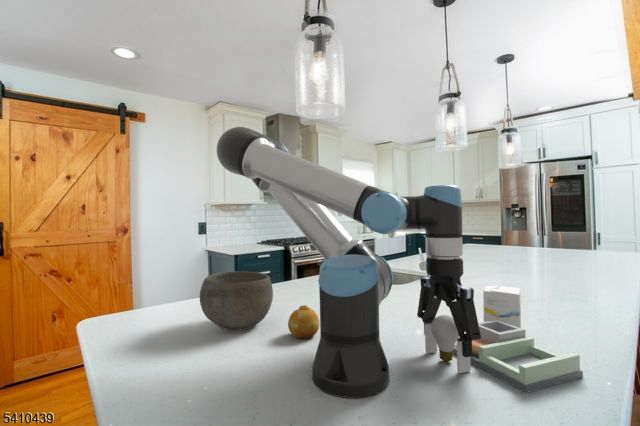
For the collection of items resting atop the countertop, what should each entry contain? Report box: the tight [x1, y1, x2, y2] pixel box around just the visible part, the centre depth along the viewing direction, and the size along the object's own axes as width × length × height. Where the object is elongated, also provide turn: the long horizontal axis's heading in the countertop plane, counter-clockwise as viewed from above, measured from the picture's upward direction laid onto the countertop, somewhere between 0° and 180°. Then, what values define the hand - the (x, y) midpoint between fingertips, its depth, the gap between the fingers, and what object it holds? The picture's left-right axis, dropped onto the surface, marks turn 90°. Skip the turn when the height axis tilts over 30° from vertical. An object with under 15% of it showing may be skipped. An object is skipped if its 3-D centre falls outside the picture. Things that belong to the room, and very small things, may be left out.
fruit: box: [287, 304, 320, 339], centre depth 87 cm, size 8×8×8 cm
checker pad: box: [472, 340, 491, 354], centre depth 72 cm, size 5×5×1 cm
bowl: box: [199, 270, 274, 331], centre depth 96 cm, size 21×21×15 cm
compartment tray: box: [453, 320, 584, 393], centre depth 69 cm, size 15×19×6 cm
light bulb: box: [431, 314, 460, 363], centre depth 70 cm, size 6×6×10 cm
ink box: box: [483, 285, 522, 328], centre depth 87 cm, size 9×8×12 cm
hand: (446, 360), depth 70 cm, fingers open, 9 cm apart
